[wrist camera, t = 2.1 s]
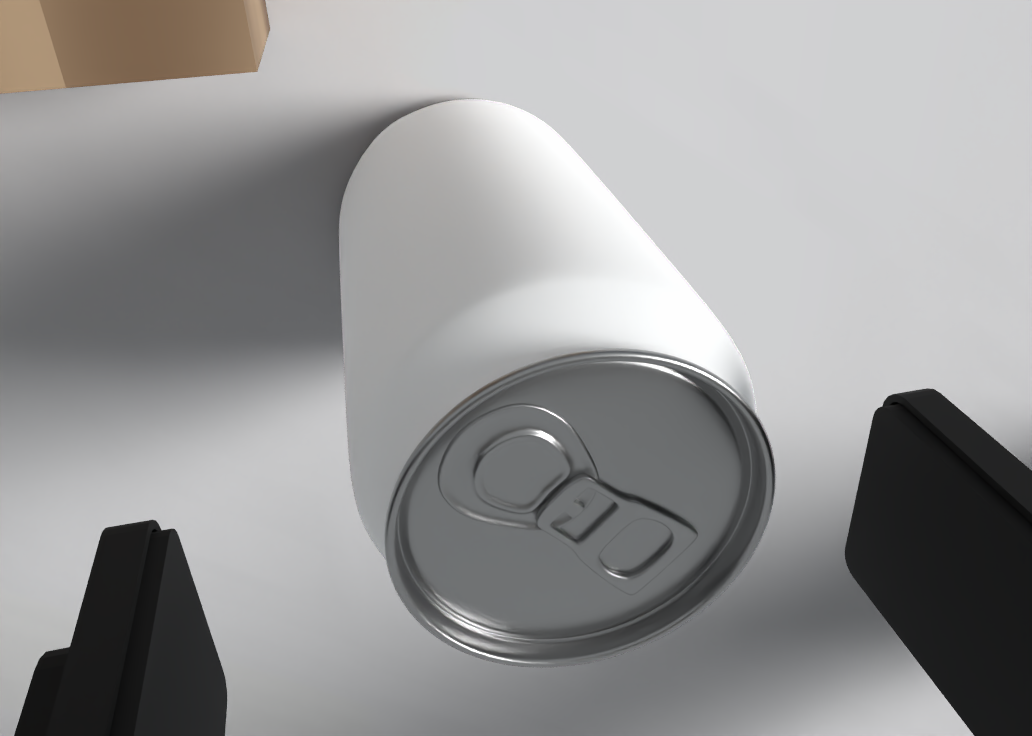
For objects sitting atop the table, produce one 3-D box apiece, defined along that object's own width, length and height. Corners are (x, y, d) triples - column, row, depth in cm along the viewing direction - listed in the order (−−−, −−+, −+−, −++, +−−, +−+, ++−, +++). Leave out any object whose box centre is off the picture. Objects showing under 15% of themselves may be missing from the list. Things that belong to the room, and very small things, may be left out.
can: (450, 34, 20) (584, 218, 10) (637, 202, 23) (889, 476, 13) (285, 243, 22) (252, 585, 11) (479, 373, 25) (588, 737, 14)
